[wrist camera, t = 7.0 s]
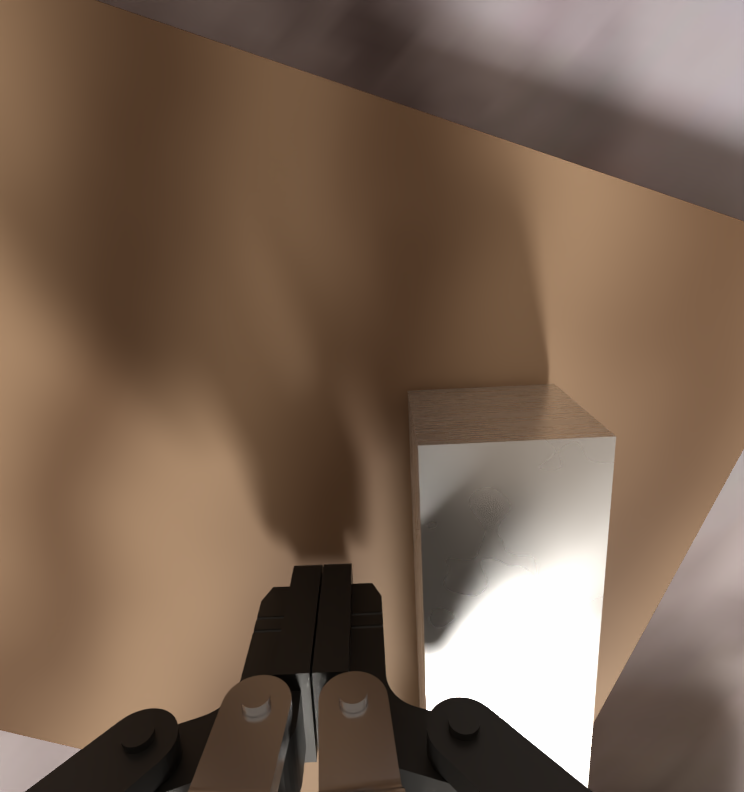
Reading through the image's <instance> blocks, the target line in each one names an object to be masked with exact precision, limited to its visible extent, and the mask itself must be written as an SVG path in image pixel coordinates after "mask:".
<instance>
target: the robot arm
mask: <svg viewBox="0 0 744 792" xmlns="http://www.w3.org/2000/svg"><path fill="white" fill-rule="evenodd" d="M317 752H318V765H319V792H592V791H591V790H590V789H589V788H587V787H586V786H585V785H584V784H582V783H581V782H580V781H579V780H577V779H576V778H575V777H574V776H573V775H571V774H570V773H569V772H568V771H566V770H565V769H564V768H563V767H561V766H560V765H559V764H558V763H557V762H555V761H554V760H553V759H552V758H550V757H549V756H548V755H547V754H545V753H544V752H543V751H542V750H541V749H539V748H538V747H537V746H536V745H534V744H533V743H532V742H531V741H529V740H528V739H527V738H526V737H524V736H523V735H522V734H521V733H520V732H518V731H517V730H516V729H515V728H513V727H512V726H511V725H510V724H508V723H507V722H506V721H505V720H504V719H502V718H501V717H500V716H499V715H497V714H496V713H495V712H494V711H492V710H491V709H490V708H489V707H487V706H486V705H485V704H483V703H481V702H479V701H477V700H475V699H472V698H468V697H451V698H447V699H445V700H442V701H441V702H439V703H438V704H436V705H435V706H434V707H433V708H432V710H427V709H423V708H419V707H416V706H413V705H410V704H408V703H406V702H404V701H403V700H401V699H400V698H399V697H397V696H396V695H395V694H394V692H393V691H392V690H391V688H390V686H389V685H388V682H387V677H386V664H385V647H384V629H383V612H382V596H381V594H380V593H379V592H378V590H377V589H376V587H375V586H374V584H373V583H358V584H353V573H352V563H347V564H324V566H323V565H299V566H294V568H293V573H292V578H291V583H290V586H286V587H273V588H272V589H271V590H270V591H269V593H268V594H267V595H266V596H265V597H264V598H263V600H262V601H261V604H260V608H259V612H258V615H257V620H256V623H255V627H254V633H253V634H252V638H251V642H250V646H249V649H248V653H247V657H246V661H245V664H244V668H243V672H242V676H241V680H240V682H239V683H237V684H236V685H235V686H233V687H232V688H231V689H230V690H229V691H228V693H227V694H226V695H225V697H224V699H223V701H222V704H221V706H220V707H219V708H218V709H216V710H215V711H213V712H211V713H209V714H207V715H204V716H201V717H198V718H195V719H192V720H189V721H186V722H183V723H180V724H178V723H177V720H176V718H175V717H174V716H173V714H171V713H170V712H168V711H166V710H164V709H159V708H150V709H144V710H140V711H137V712H135V713H132V714H130V715H128V716H126V717H125V718H123V719H122V720H120V721H119V722H117V723H116V724H115V725H113V726H112V727H111V728H109V729H108V730H107V731H105V732H104V733H103V734H101V735H100V736H99V737H97V738H96V739H95V740H93V741H92V742H91V743H89V744H88V745H87V746H85V747H84V748H83V749H81V750H80V751H79V752H77V753H76V754H75V755H73V756H72V757H71V758H69V759H68V760H67V761H65V762H64V763H63V764H61V765H60V766H59V767H57V768H56V769H55V770H53V771H52V772H51V773H49V774H48V775H47V776H45V777H44V778H43V779H41V780H40V781H39V782H37V783H36V784H35V785H33V786H32V787H31V788H29V789H28V790H27V791H25V792H301V788H302V783H303V773H304V763H307V762H317Z"/></svg>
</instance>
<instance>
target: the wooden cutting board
mask: <svg viewBox="0 0 744 792" xmlns="http://www.w3.org/2000/svg"><path fill="white" fill-rule="evenodd" d="M534 384H555V385H556V386H558V387H559V388H560V389H561V390H562V391H563V392H565V393H566V394H567V395H568V396H569V397H571V398H572V399H573V400H574V401H575V402H576V403H578V404H579V405H580V406H581V407H582V408H583V409H585V410H586V411H587V412H588V413H589V414H590V415H592V416H593V417H594V418H595V419H596V420H598V421H599V422H600V423H601V424H602V425H603V426H605V427H606V428H607V429H608V430H609V431H610V432H612V433H613V434H614V435H615V436H616V445H615V457H614V470H613V482H612V494H611V507H610V519H609V531H608V544H607V556H606V568H605V581H604V593H603V605H602V618H601V630H600V642H599V655H598V667H597V679H596V692H595V704H594V716H593V723H594V721H595V719H596V717H597V716H598V714H599V712H600V710H601V708H602V706H603V705H604V703H605V701H606V699H607V697H608V695H609V694H610V692H611V690H612V688H613V686H614V685H615V683H616V681H617V679H618V677H619V675H620V674H621V672H622V670H623V668H624V666H625V664H626V663H627V661H628V659H629V657H630V655H631V654H632V652H633V650H634V648H635V646H636V644H637V643H638V641H639V639H640V637H641V635H642V633H643V632H644V630H645V628H646V626H647V624H648V623H649V621H650V619H651V617H652V615H653V613H654V612H655V610H656V608H657V606H658V604H659V602H660V601H661V599H662V597H663V595H664V593H665V592H666V590H667V588H668V586H669V584H670V582H671V581H672V579H673V577H674V575H675V573H676V571H677V570H678V568H679V566H680V564H681V562H682V560H683V559H684V557H685V555H686V553H687V551H688V550H689V548H690V546H691V544H692V542H693V540H694V539H695V537H696V535H697V533H698V531H699V529H700V528H701V526H702V524H703V522H704V520H705V519H706V517H707V515H708V513H709V511H710V509H711V508H712V506H713V504H714V502H715V500H716V498H717V497H718V495H719V493H720V491H721V489H722V488H723V486H724V484H725V482H726V480H727V478H728V477H729V475H730V473H731V471H732V469H733V467H734V466H735V464H736V462H737V460H738V458H739V456H740V455H741V453H742V451H743V449H744V221H742V220H739V219H736V218H733V217H730V216H727V215H724V214H721V213H718V212H715V211H712V210H709V209H707V208H704V207H701V206H698V205H695V204H692V203H689V202H686V201H683V200H680V199H677V198H674V197H671V196H668V195H665V194H663V193H660V192H657V191H654V190H651V189H648V188H645V187H642V186H639V185H636V184H633V183H630V182H627V181H624V180H621V179H619V178H616V177H613V176H610V175H607V174H604V173H601V172H598V171H595V170H592V169H589V168H586V167H583V166H580V165H577V164H575V163H572V162H569V161H566V160H563V159H560V158H557V157H554V156H551V155H548V154H545V153H542V152H539V151H536V150H533V149H531V148H528V147H525V146H522V145H519V144H516V143H513V142H510V141H507V140H504V139H501V138H498V137H495V136H492V135H489V134H487V133H484V132H481V131H478V130H475V129H472V128H469V127H466V126H463V125H460V124H457V123H454V122H451V121H448V120H446V119H443V118H440V117H437V116H434V115H431V114H428V113H425V112H422V111H419V110H416V109H413V108H410V107H407V106H404V105H402V104H399V103H396V102H393V101H390V100H387V99H384V98H381V97H378V96H375V95H372V94H369V93H366V92H363V91H360V90H358V89H355V88H352V87H349V86H346V85H343V84H340V83H337V82H334V81H331V80H328V79H325V78H322V77H319V76H316V75H314V74H311V73H308V72H305V71H302V70H299V69H296V68H293V67H290V66H287V65H284V64H281V63H278V62H275V61H272V60H270V59H267V58H264V57H261V56H258V55H255V54H252V53H249V52H246V51H243V50H240V49H237V48H234V47H231V46H228V45H226V44H223V43H220V42H217V41H214V40H211V39H208V38H205V37H202V36H199V35H196V34H193V33H190V32H187V31H185V30H182V29H179V28H176V27H173V26H170V25H167V24H164V23H161V22H158V21H155V20H152V19H149V18H146V17H143V16H141V15H138V14H135V13H132V12H129V11H126V10H123V9H120V8H117V7H114V6H111V5H108V4H105V3H102V2H99V1H97V0H0V730H2V731H6V732H11V733H15V734H19V735H23V736H28V737H32V738H36V739H40V740H45V741H49V742H53V743H57V744H62V745H66V746H70V747H74V748H79V749H83V748H84V747H85V746H87V745H88V744H89V743H91V742H92V741H93V740H95V739H96V738H97V737H99V736H100V735H101V734H103V733H104V732H105V731H107V730H108V729H109V728H111V727H112V726H113V725H115V724H116V723H117V722H119V721H120V720H122V719H123V718H125V717H126V716H128V715H130V714H132V713H135V712H137V711H140V710H144V709H150V708H159V709H164V710H166V711H168V712H170V713H171V714H173V716H174V717H175V718H176V720H177V723H178V724H180V723H183V722H186V721H189V720H192V719H195V718H198V717H201V716H204V715H207V714H209V713H211V712H213V711H215V710H216V709H218V708H219V707H220V706H221V704H222V701H223V699H224V697H225V695H226V694H227V693H228V691H229V690H230V689H231V688H232V687H233V686H235V685H236V684H237V683H239V682H240V680H241V676H242V672H243V668H244V664H245V661H246V657H247V653H248V649H249V646H250V642H251V638H252V634H253V633H254V627H255V623H256V620H257V615H258V612H259V608H260V604H261V601H262V600H263V598H264V597H265V596H266V595H267V594H268V593H269V591H270V590H271V589H272V588H273V587H286V586H290V583H291V578H292V573H293V568H294V566H299V565H323V566H324V564H347V563H352V573H353V584H358V583H373V584H374V586H375V587H376V589H377V590H378V592H379V593H380V594H381V596H382V612H383V629H384V647H385V664H386V677H387V682H388V685H389V686H390V688H391V690H392V691H393V692H394V694H395V695H396V696H397V697H399V698H400V699H401V700H403V701H404V702H406V703H408V704H410V705H413V706H416V707H419V681H418V654H417V628H416V601H415V574H414V547H413V521H412V494H411V467H410V441H409V414H408V391H414V390H434V389H454V388H474V387H494V386H514V385H534ZM301 792H319V765H318V752H317V762H307V763H304V773H303V783H302V788H301Z"/></svg>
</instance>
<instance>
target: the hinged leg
mask: <svg viewBox="0 0 744 792" xmlns="http://www.w3.org/2000/svg"><path fill="white" fill-rule="evenodd" d="M408 414H409V441H410V467H411V494H412V521H413V547H414V574H415V601H416V628H417V654H418V681H419V708H423V709H427V710H432V708H433V707H434V706H435V705H436V704H438V703H439V702H441V701H442V700H445V699H447V698H451V697H468V698H472V699H475V700H477V701H479V702H481V703H483V704H485V705H486V706H487V707H489V708H490V709H491V710H492V711H494V712H495V713H496V714H497V715H499V716H500V717H501V718H502V719H504V720H505V721H506V722H507V723H508V724H510V725H511V726H512V727H513V728H515V729H516V730H517V731H518V732H520V733H521V734H522V735H523V736H524V737H526V738H527V739H528V740H529V741H531V742H532V743H533V744H534V745H536V746H537V747H538V748H539V749H541V750H542V751H543V752H544V753H545V754H547V755H548V756H549V757H550V758H552V759H553V760H554V761H555V762H557V763H558V764H559V765H560V766H561V767H563V768H564V769H565V770H566V771H568V772H569V773H570V774H571V775H573V776H574V777H575V778H576V779H577V780H579V781H580V782H581V783H582V784H584V785H585V786H586V787H587V788H588V778H589V766H590V753H591V741H592V729H593V716H594V704H595V692H596V679H597V667H598V655H599V642H600V630H601V618H602V605H603V593H604V581H605V568H606V556H607V544H608V531H609V519H610V507H611V494H612V482H613V470H614V457H615V445H616V436H615V435H614V434H613V433H612V432H610V431H609V430H608V429H607V428H606V427H605V426H603V425H602V424H601V423H600V422H599V421H598V420H596V419H595V418H594V417H593V416H592V415H590V414H589V413H588V412H587V411H586V410H585V409H583V408H582V407H581V406H580V405H579V404H578V403H576V402H575V401H574V400H573V399H572V398H571V397H569V396H568V395H567V394H566V393H565V392H563V391H562V390H561V389H560V388H559V387H558V386H556V385H555V384H534V385H514V386H494V387H474V388H454V389H434V390H414V391H408Z"/></svg>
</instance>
